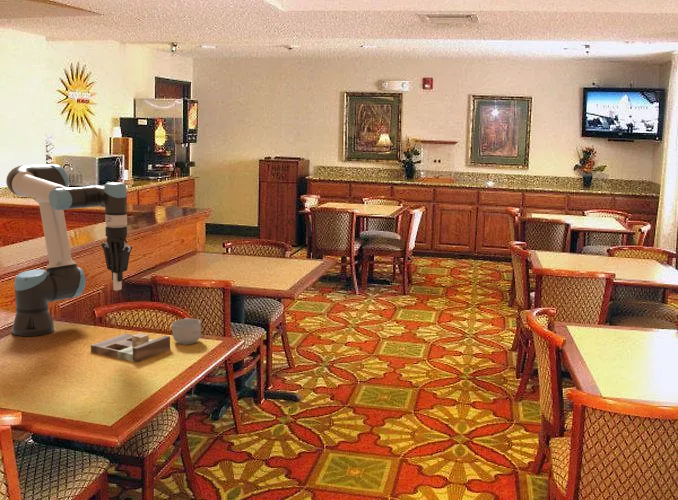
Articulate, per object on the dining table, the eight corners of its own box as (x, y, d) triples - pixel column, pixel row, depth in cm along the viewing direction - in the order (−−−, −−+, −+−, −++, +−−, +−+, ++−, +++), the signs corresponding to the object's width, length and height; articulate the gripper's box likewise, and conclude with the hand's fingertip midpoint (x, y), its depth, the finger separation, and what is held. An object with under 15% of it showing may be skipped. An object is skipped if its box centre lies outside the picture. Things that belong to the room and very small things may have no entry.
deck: (90, 351, 271) (90, 338, 270) (125, 339, 285) (124, 327, 284) (137, 362, 260) (136, 348, 260) (170, 349, 275) (169, 336, 274)
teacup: (197, 347, 279) (197, 326, 277) (168, 346, 279) (168, 325, 278) (205, 336, 293) (205, 316, 291) (177, 335, 293) (177, 315, 291)
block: (132, 346, 270) (132, 335, 269) (140, 343, 273) (140, 333, 272) (140, 348, 268) (140, 337, 267) (148, 345, 271) (148, 334, 270)
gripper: (95, 225, 271) (96, 288, 275) (122, 229, 265) (123, 294, 269) (110, 222, 277) (112, 285, 282) (137, 226, 271) (138, 290, 276)
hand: (117, 289), depth 275 cm, fingers closed
